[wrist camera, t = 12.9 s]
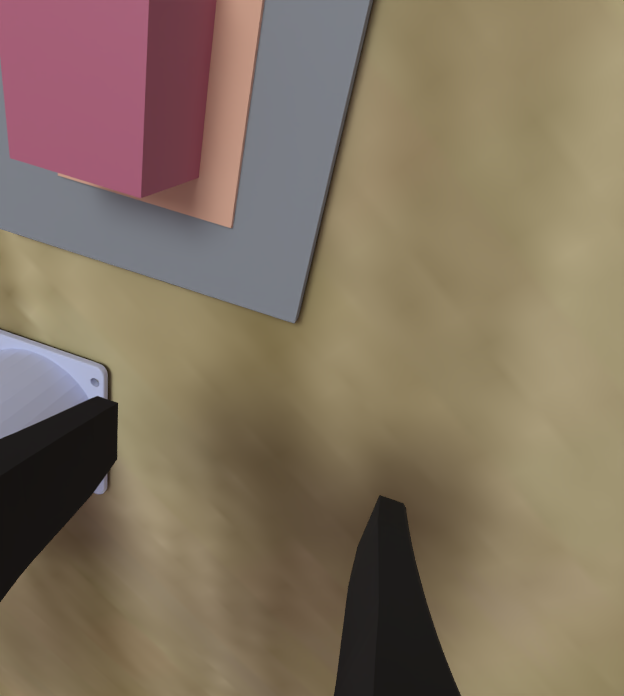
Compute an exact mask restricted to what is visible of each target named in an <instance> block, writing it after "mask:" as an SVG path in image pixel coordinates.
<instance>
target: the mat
mask: <svg viewBox="0 0 624 696" xmlns="http://www.w3.org/2000/svg"><path fill="white" fill-rule="evenodd" d="M372 3H373V0H217V2H216V12H215V21H214V31H213V41H212V51H211V61H210V71H209V81H208V91H207V101H206V111H205V121H204V131H203V141H202V151H201V161H200V171H199V178H197V179H194V180H191V181H188V182H186V183H183V184H180V185H177V186H174V187H171V188H169V189H166V190H163V191H160V192H157V193H155V194H152V195H149V196H146V197H143V198H138V197H135V196H132V195H128V194H125V193H122V192H119V191H115V190H112V189H109V188H106V187H102V186H99V185H96V184H93V183H89V182H86V181H83V180H80V179H76V178H73V177H70V176H67V175H63V174H60V173H57V172H54V171H50V170H47V169H44V168H41V167H37V166H34V165H31V164H28V163H24V162H21V161H18V160H15V159H11V158H10V155H9V144H8V134H7V123H6V113H5V102H4V92H3V81H2V71H1V60H0V229H2V230H5V231H8V232H12V233H15V234H18V235H21V236H24V237H27V238H30V239H33V240H36V241H40V242H43V243H46V244H49V245H52V246H55V247H58V248H61V249H64V250H68V251H71V252H74V253H77V254H80V255H83V256H86V257H89V258H92V259H96V260H99V261H102V262H105V263H108V264H111V265H114V266H117V267H120V268H124V269H127V270H130V271H133V272H136V273H139V274H142V275H145V276H148V277H152V278H155V279H158V280H161V281H164V282H167V283H170V284H173V285H176V286H180V287H183V288H186V289H189V290H192V291H195V292H198V293H201V294H204V295H208V296H211V297H214V298H217V299H220V300H223V301H226V302H229V303H232V304H236V305H239V306H242V307H245V308H248V309H251V310H254V311H257V312H260V313H264V314H267V315H270V316H273V317H276V318H279V319H282V320H285V321H288V322H292V323H295V322H296V320H297V319H298V317H299V312H300V308H301V304H302V300H303V295H304V291H305V287H306V283H307V278H308V274H309V270H310V266H311V261H312V257H313V253H314V249H315V244H316V240H317V236H318V232H319V228H320V223H321V219H322V215H323V211H324V206H325V202H326V198H327V194H328V189H329V185H330V181H331V177H332V172H333V168H334V164H335V160H336V155H337V151H338V147H339V143H340V138H341V134H342V130H343V126H344V122H345V117H346V113H347V109H348V105H349V100H350V96H351V92H352V88H353V83H354V79H355V75H356V71H357V66H358V62H359V58H360V54H361V49H362V45H363V41H364V37H365V32H366V28H367V24H368V20H369V15H370V11H371V7H372Z"/></svg>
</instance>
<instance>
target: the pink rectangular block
mask: <svg viewBox="0 0 624 696" xmlns="http://www.w3.org/2000/svg"><path fill="white" fill-rule="evenodd" d="M216 2H217V0H0V60H1V71H2V81H3V92H4V102H5V113H6V123H7V134H8V144H9V155H10V158H11V159H15V160H18V161H21V162H24V163H28V164H31V165H34V166H37V167H41V168H44V169H47V170H50V171H54V172H57V173H60V174H63V175H67V176H70V177H73V178H76V179H80V180H83V181H86V182H89V183H93V184H96V185H99V186H102V187H106V188H109V189H112V190H115V191H119V192H122V193H125V194H128V195H132V196H135V197H138V198H143V197H146V196H149V195H152V194H155V193H157V192H160V191H163V190H166V189H169V188H171V187H174V186H177V185H180V184H183V183H186V182H188V181H191V180H194V179H197V178H199V171H200V161H201V151H202V141H203V131H204V121H205V111H206V101H207V91H208V81H209V71H210V61H211V51H212V41H213V31H214V21H215V12H216Z"/></svg>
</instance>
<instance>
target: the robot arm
mask: <svg viewBox="0 0 624 696" xmlns="http://www.w3.org/2000/svg"><path fill="white" fill-rule="evenodd" d="M96 379H97V380H98V381H99V382H98V381H97V380H96ZM117 429H118V403H116V402H113V401H111V400H108V373H107V370H106V368H105V367H104V366H103V365H101V364H99V363H96V362H93V361H90V360H88V359H85V358H82V357H79V356H76V355H73V354H70V353H67V352H64V351H61V350H58V349H56V348H53V347H50V346H47V345H44V344H41V343H38V342H35V341H32V340H29V339H27V338H24V337H21V336H18V335H15V334H12V333H9V332H6V331H3V330H0V602H1V600H2V599H3V598H4V596H5V595H6V594H7V592H8V591H9V590H10V588H11V587H12V586H13V584H14V583H15V582H16V580H17V579H18V578H19V576H20V575H21V574H22V573H23V572H24V570H25V569H26V568H27V567H28V566H29V564H30V563H31V562H32V561H33V560H34V559H35V557H36V556H37V555H38V554H39V553H40V552H41V551H42V550H43V549H44V547H45V546H46V545H47V544H48V543H49V542H50V541H51V540H52V539H53V537H54V536H55V535H56V534H57V533H58V532H59V531H60V530H61V529H62V527H63V526H64V525H65V524H66V523H67V522H68V521H69V520H70V519H71V517H72V516H73V515H74V514H75V513H76V512H77V511H78V510H79V508H80V507H81V506H82V505H83V504H84V503H85V502H86V501H87V499H88V498H89V497H90V496H91V495H92V494H93V493H96V494H103V493H104V492H105V491H106V490H107V473H108V471H109V470H110V468H111V467H112V465H113V464H114V463H115V461H116V460H117ZM334 696H461V695H460V692H459V690H458V688H457V685H456V683H455V681H454V678H453V676H452V673H451V671H450V668H449V666H448V663H447V661H446V658H445V655H444V653H443V650H442V647H441V644H440V642H439V639H438V636H437V633H436V630H435V627H434V624H433V621H432V618H431V615H430V612H429V608H428V605H427V602H426V598H425V595H424V591H423V588H422V584H421V580H420V576H419V573H418V569H417V565H416V561H415V556H414V552H413V547H412V542H411V537H410V532H409V526H408V520H407V513H406V507H405V506H404V504H403V503H400V502H398V501H395V500H392V499H389V498H386V497H383V496H381V495H380V496H379V498H378V500H377V503H376V505H375V507H374V510H373V512H372V514H371V517H370V519H369V521H368V524H367V526H366V528H365V531H364V533H363V535H362V538H361V540H360V542H359V545H358V547H357V551H356V556H355V560H354V564H353V568H352V573H351V577H350V581H349V586H348V593H347V601H346V608H345V616H344V624H343V632H342V640H341V648H340V656H339V664H338V672H337V680H336V686H335V692H334Z"/></svg>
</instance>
